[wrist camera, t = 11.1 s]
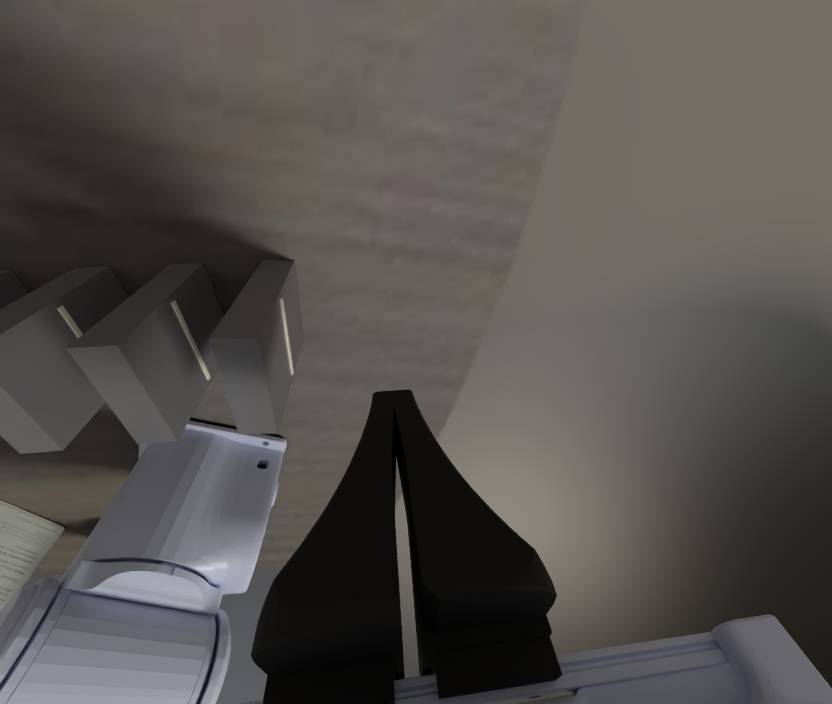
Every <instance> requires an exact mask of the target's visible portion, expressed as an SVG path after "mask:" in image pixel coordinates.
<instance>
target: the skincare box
mask: <svg viewBox="0 0 832 704" xmlns="http://www.w3.org/2000/svg"><path fill="white" fill-rule="evenodd" d="M64 530H65V529H64V527H63V526H61V525H58V524H56V523H54V522H52V521H49V520H47V519H44V518H41V517H39V516H37V515H35V514H32V513H30V512H27V511H25V510H23V509H20V508H18V507H16V506H13V505H11V504H8V503H6V502H3V501H1V500H0V611H1V610H2V609H3V608H4V607H5V606H6V604H7V603H8V602H9V601H10V600H11V599H12V598H13V597H14V596H15V595H16V594H17V593H18V592H19V591H20V590H21V589H22V588H23V586H24V585H25V583H26V582H27V581H28V579H29V578H30V577H31V575H32V574H33V572H34V571H35V570H36V568H37V567H38V566H39V564H40V563H41V562H42V560H43V559H44V558H45V556H46V555H47V554H48V552H49V551H50V549H51V548H52V547H53V545H54V544H55V543H56V541H57V540H58V538H59V537H60V536H61V534H62V533H63V531H64Z"/></svg>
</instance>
